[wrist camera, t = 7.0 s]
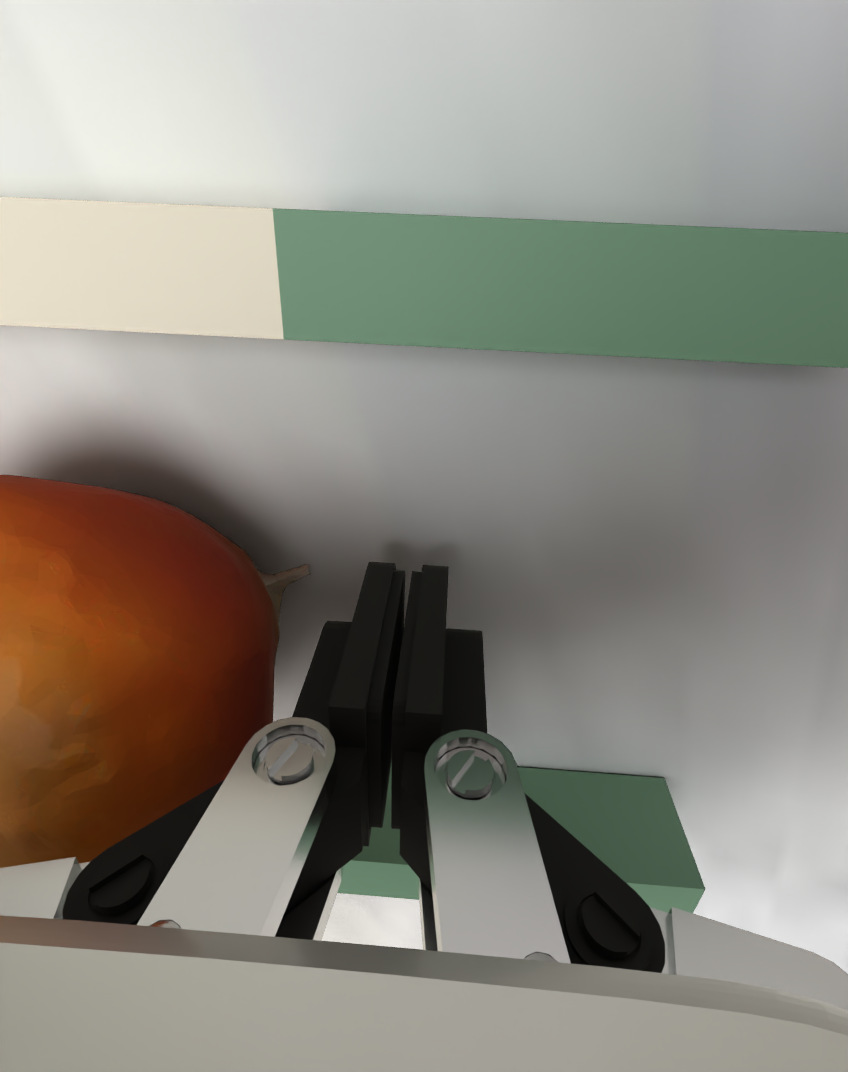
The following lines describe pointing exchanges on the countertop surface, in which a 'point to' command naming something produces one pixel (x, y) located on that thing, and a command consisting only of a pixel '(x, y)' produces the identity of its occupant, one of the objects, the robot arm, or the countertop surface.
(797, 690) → the countertop surface
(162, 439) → the countertop surface
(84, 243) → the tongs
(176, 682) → the fruit
